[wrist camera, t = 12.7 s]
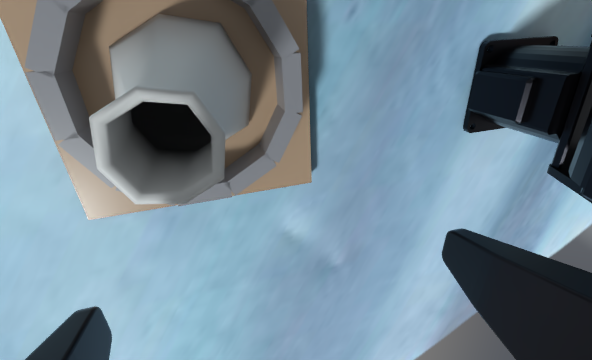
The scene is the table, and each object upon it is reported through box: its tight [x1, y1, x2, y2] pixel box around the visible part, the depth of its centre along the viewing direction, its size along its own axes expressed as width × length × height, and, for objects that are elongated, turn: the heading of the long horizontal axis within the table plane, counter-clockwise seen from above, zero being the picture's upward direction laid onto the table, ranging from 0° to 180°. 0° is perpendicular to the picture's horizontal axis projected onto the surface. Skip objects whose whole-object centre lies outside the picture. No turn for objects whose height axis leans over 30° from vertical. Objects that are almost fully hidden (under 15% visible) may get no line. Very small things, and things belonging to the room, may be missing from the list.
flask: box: [89, 14, 252, 204], centre depth 12 cm, size 7×7×10 cm
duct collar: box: [0, 0, 312, 220], centre depth 16 cm, size 14×14×3 cm
